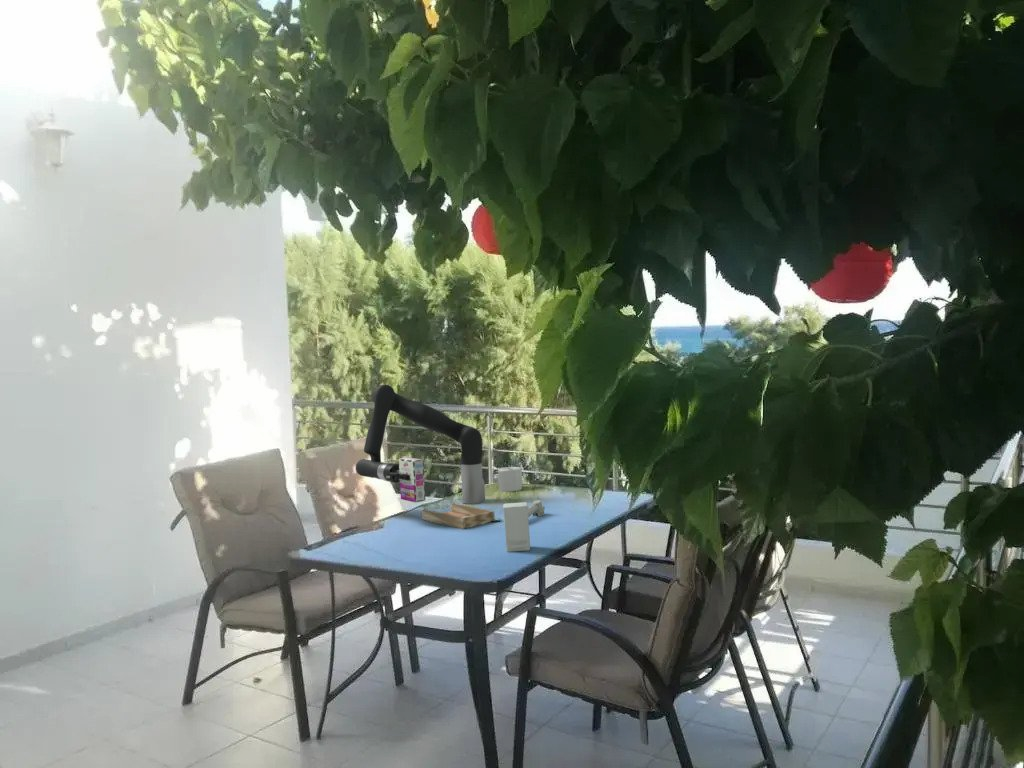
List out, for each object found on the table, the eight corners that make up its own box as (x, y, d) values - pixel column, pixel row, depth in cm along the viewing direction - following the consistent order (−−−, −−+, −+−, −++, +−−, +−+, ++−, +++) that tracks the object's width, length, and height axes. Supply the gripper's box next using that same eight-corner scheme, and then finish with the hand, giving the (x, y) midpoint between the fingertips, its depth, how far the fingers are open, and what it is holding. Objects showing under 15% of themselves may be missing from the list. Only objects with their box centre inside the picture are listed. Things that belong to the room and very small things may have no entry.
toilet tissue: (523, 487, 394) (522, 466, 393) (520, 492, 382) (519, 470, 381) (501, 487, 395) (500, 467, 394) (497, 492, 383) (496, 471, 383)
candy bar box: (426, 500, 322) (424, 459, 321) (415, 503, 319) (413, 461, 318) (410, 497, 330) (408, 456, 329) (400, 499, 327) (397, 458, 326)
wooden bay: (453, 512, 344) (453, 503, 343) (494, 521, 324) (494, 511, 324) (422, 519, 333) (422, 510, 332) (463, 529, 314) (462, 518, 313)
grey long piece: (505, 517, 313) (534, 496, 335) (507, 534, 314) (536, 511, 336) (518, 518, 311) (545, 496, 332) (519, 535, 312) (547, 512, 333)
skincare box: (529, 546, 284) (527, 501, 283) (530, 551, 278) (528, 505, 277) (505, 547, 284) (503, 502, 283) (505, 552, 278) (503, 506, 277)
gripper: (374, 465, 330) (399, 469, 317) (404, 460, 339) (429, 464, 327) (376, 484, 330) (400, 489, 318) (405, 478, 340) (430, 483, 327)
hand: (415, 476), depth 322 cm, fingers closed on candy bar box, 5 cm apart
